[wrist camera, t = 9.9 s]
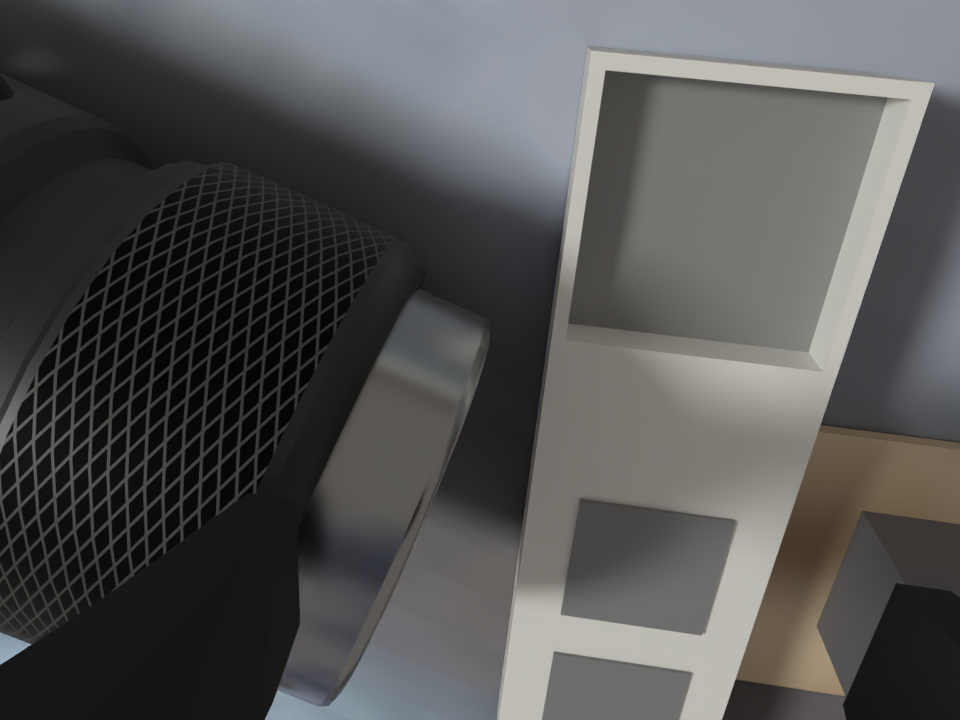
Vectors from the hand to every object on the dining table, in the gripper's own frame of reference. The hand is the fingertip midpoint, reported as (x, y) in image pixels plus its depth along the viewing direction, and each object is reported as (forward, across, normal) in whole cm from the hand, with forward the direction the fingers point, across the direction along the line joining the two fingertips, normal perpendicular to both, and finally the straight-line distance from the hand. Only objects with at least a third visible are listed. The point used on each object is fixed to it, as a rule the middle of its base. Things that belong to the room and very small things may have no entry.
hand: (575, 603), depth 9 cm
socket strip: (+10, -2, +4) cm, 11 cm away
